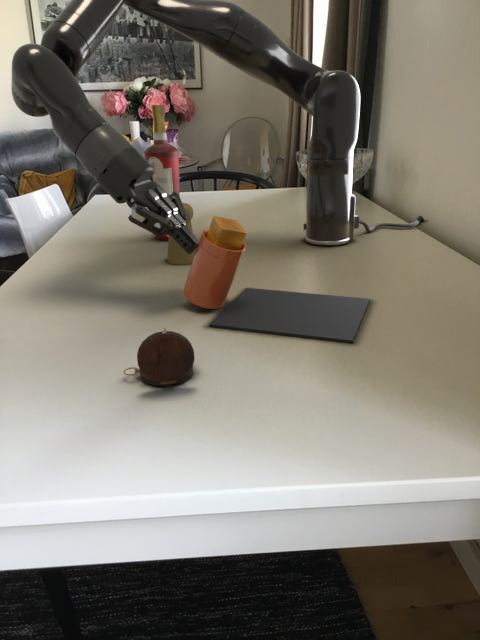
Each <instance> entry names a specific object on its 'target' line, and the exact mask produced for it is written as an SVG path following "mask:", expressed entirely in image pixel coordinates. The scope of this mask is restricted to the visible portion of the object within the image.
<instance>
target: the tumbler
mask: <svg viewBox="0 0 480 640" xmlns="http://www.w3.org/2000/svg"><path fill="white" fill-rule="evenodd" d="M208 230H209V228H205V229H203V230H202V232H201V235H200V237H199V240H200V241H199V244H198V247H197V249H196V252H195V255H194V258H193V261H192V263H191V264H190V267H189V270H188V273H187V276H186V279H185V282H184V285H183V288H182V293H183V296H184V297H185V298H186V300H187V301H189V302H190V303H191V304H193V305H195V306H197V307H200V308H203V309H208V310H209V309H210V310H217V309H221V308H222V307H224V306H225V303H226V301H227V298H228V295H229V293H230V291H231V288H232V285H233V283H234V280H235V278H236V275H237V272H238V270H239V267H240V265H241V262H242V259H243V258H244V255H245V253H246V250H247V245H246V243H245V241H243V244H242V246H241V249H240V250H236V251H234V250H228V249H224V248H222V247H219V246H217V245H215V244H213V243H211V242H210V241H209V240H208V239H207V238H206V236H207V233H208Z"/></svg>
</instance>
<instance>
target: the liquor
mask: <svg viewBox="0 0 480 640" xmlns="http://www.w3.org/2000/svg"><path fill="white" fill-rule="evenodd" d="M150 106H151V115H152V120H153V144H151V145H150V146H148V147H146V149H145V150H144V151H143V154H144V158H145V159H146V160H147V161H148V162H149V163H150V165H151V166H152V167H153V168H154V174H153V181H154V182H155V183H157V184H158V185H159V186H161V187H162V188H163V189H164V191H165V192H166V193H167V194H170V195H171V194H172V193H173V191H175V192H177V193H178V194H179V196H181V195H180V193H181V192H180V153H179V152H180V150H179V149H178V148H177V147H176V146H175V145H173V144H170V143H169V140H168V136H167V135H168V134H167V128H166V122H165V115H166V110H165V109H166V108H165V104H151V105H150ZM153 235H154V236H155V237H156V238H157V239H159V240H161V241H169V237H168V236H166V235H164V237H159V236H157V235H155V234H153Z"/></svg>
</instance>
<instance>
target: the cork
mask: <svg viewBox="0 0 480 640" xmlns="http://www.w3.org/2000/svg"><path fill="white" fill-rule="evenodd" d="M182 204H183V206H184V209H185V211H186V214H187V216H188V219H187V220H186V224H185V226H186V227H187V228H188V229H189V230H190V231H191V232H192V233H193V234H194V229H193V224H192V219H194V209H193V206H192V205H191V204H189V203H186V202H182ZM167 241H168V243H167V244H168V245H167V261H166V262H167V263H168V264H171V265H178V266H180V265H181V266H182V265H191V264H192V261H193V258H194V255H195V252H196V251H195V252H193V253H192V254H188V253H187V252H186V251H185V250H184V249H183V248H182V247H181V246H180V245H179V244H178V243H177V242H176V241H175V240H174V239H173V237H171V238H169V240H167Z"/></svg>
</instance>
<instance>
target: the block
mask: <svg viewBox="0 0 480 640" xmlns="http://www.w3.org/2000/svg"><path fill="white" fill-rule="evenodd" d="M208 229H209V230H208V233H207V236H206V238H207V239H208V240H209V241H210V242H211V243H213V244H215V245H217V246H219V247H222V248H224V249H228V250H234V251H236V250H240V249H241V246H242V244H243V241H244V240H245V238H246V236H247V232H246V230H245V229H244V227H243V226H242V224H241V223H240V221H239V220H238V219H237V220H236V219H231V218H226V217H223V216H222V217H221V216H216V215H213V216H212V218H211V222H210V225H209V227H208ZM244 242H245V241H244Z"/></svg>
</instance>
